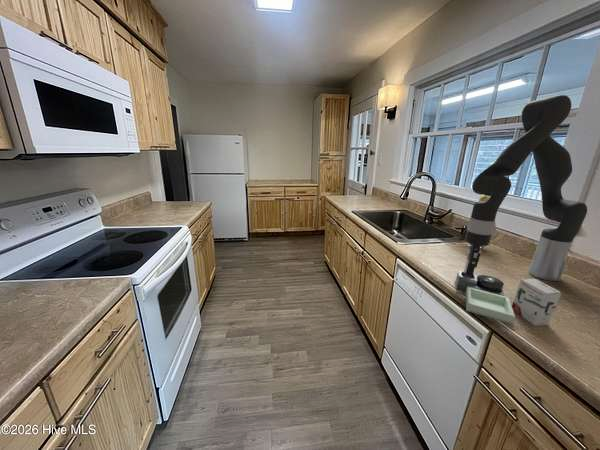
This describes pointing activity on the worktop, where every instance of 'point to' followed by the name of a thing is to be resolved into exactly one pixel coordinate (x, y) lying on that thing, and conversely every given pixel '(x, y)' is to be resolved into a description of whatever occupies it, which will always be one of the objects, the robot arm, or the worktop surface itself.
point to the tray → (489, 305)
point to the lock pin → (466, 269)
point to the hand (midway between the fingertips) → (468, 271)
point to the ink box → (535, 301)
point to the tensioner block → (479, 283)
